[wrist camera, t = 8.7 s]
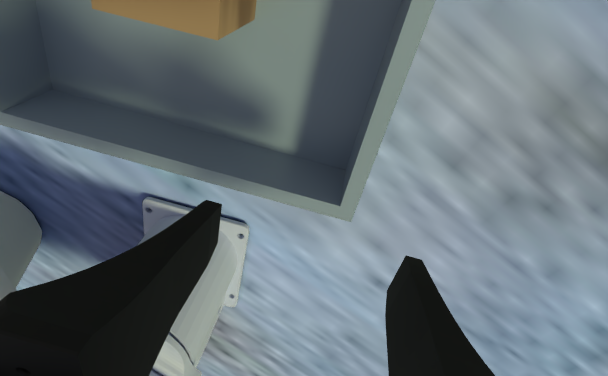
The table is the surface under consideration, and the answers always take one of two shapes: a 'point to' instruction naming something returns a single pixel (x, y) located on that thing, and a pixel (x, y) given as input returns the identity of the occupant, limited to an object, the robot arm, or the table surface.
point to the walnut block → (185, 14)
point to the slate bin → (218, 91)
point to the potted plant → (16, 242)
